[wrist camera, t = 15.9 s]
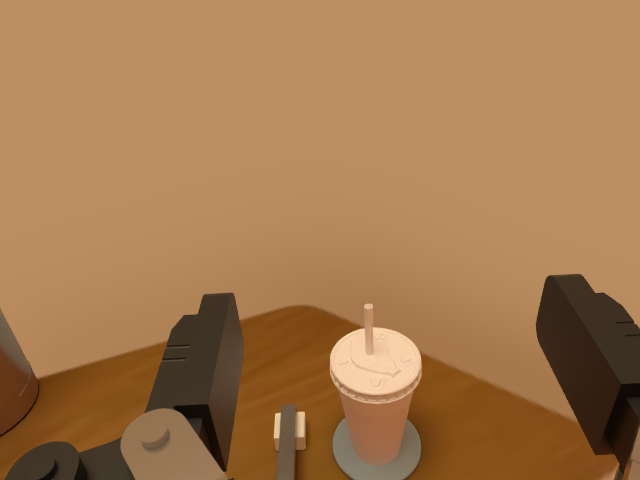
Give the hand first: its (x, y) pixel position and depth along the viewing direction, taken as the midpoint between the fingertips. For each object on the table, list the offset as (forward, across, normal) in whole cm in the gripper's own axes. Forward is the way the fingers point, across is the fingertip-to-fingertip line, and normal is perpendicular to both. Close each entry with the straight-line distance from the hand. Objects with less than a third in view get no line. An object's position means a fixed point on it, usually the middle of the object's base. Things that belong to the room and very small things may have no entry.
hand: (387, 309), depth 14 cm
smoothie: (+15, -1, +28) cm, 32 cm away
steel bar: (+12, +6, +26) cm, 30 cm away
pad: (+16, -1, +28) cm, 32 cm away
